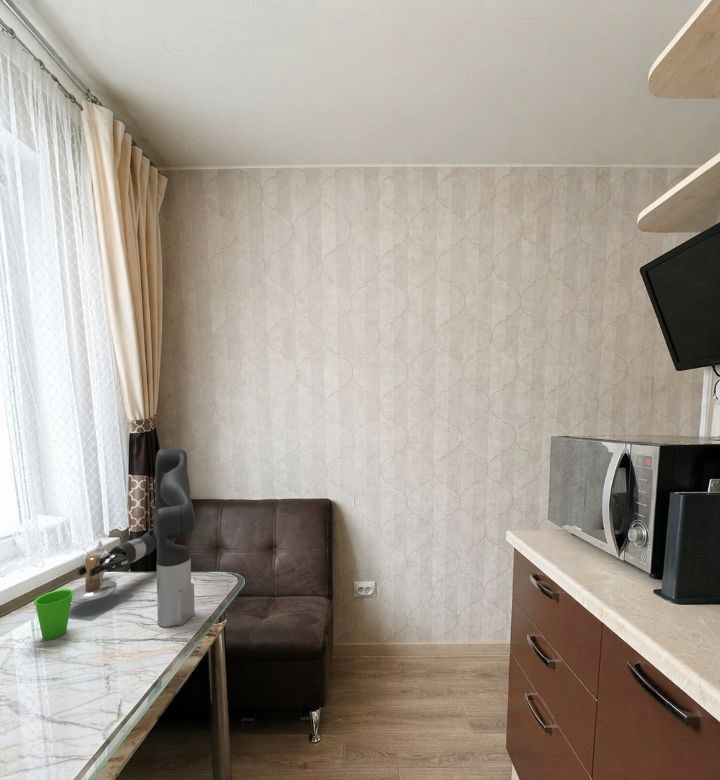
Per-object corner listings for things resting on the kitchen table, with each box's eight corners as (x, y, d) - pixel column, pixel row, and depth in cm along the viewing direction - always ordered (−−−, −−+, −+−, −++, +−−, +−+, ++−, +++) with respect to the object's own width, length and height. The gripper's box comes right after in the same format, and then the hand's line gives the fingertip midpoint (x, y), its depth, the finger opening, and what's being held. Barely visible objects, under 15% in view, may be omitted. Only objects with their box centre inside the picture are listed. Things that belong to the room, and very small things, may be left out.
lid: (126, 585, 133) (125, 551, 133) (91, 604, 120) (91, 566, 121) (94, 582, 136) (93, 549, 136) (57, 601, 123) (57, 564, 124)
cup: (39, 650, 106) (39, 607, 106) (29, 638, 111) (29, 598, 111) (79, 633, 113) (79, 594, 113) (67, 623, 118) (67, 586, 119)
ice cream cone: (89, 583, 146) (88, 541, 146) (102, 577, 150) (102, 537, 151) (98, 585, 144) (98, 543, 144) (112, 579, 149) (111, 538, 149)
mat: (133, 596, 134) (133, 595, 134) (91, 622, 119) (91, 620, 119) (95, 592, 138) (95, 591, 138) (49, 617, 122) (49, 615, 122)
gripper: (111, 541, 144) (66, 559, 128) (144, 542, 141) (103, 561, 124) (112, 562, 144) (66, 583, 127) (145, 564, 141) (103, 586, 124)
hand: (85, 572), depth 126 cm, fingers closed on lid, 4 cm apart
